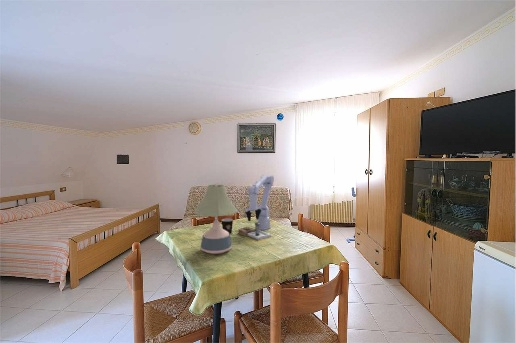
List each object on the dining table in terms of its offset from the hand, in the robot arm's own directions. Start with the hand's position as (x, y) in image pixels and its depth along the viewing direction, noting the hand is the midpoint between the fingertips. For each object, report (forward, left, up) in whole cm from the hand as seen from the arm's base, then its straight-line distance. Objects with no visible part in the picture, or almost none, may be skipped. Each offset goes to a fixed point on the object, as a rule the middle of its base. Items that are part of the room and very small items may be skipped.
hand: (253, 220), depth 186 cm
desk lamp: (+39, +13, -11) cm, 42 cm away
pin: (+1, +7, -10) cm, 12 cm away
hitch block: (+4, -3, -10) cm, 11 cm away
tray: (+1, +8, -10) cm, 13 cm away
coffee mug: (+16, -14, -11) cm, 24 cm away
